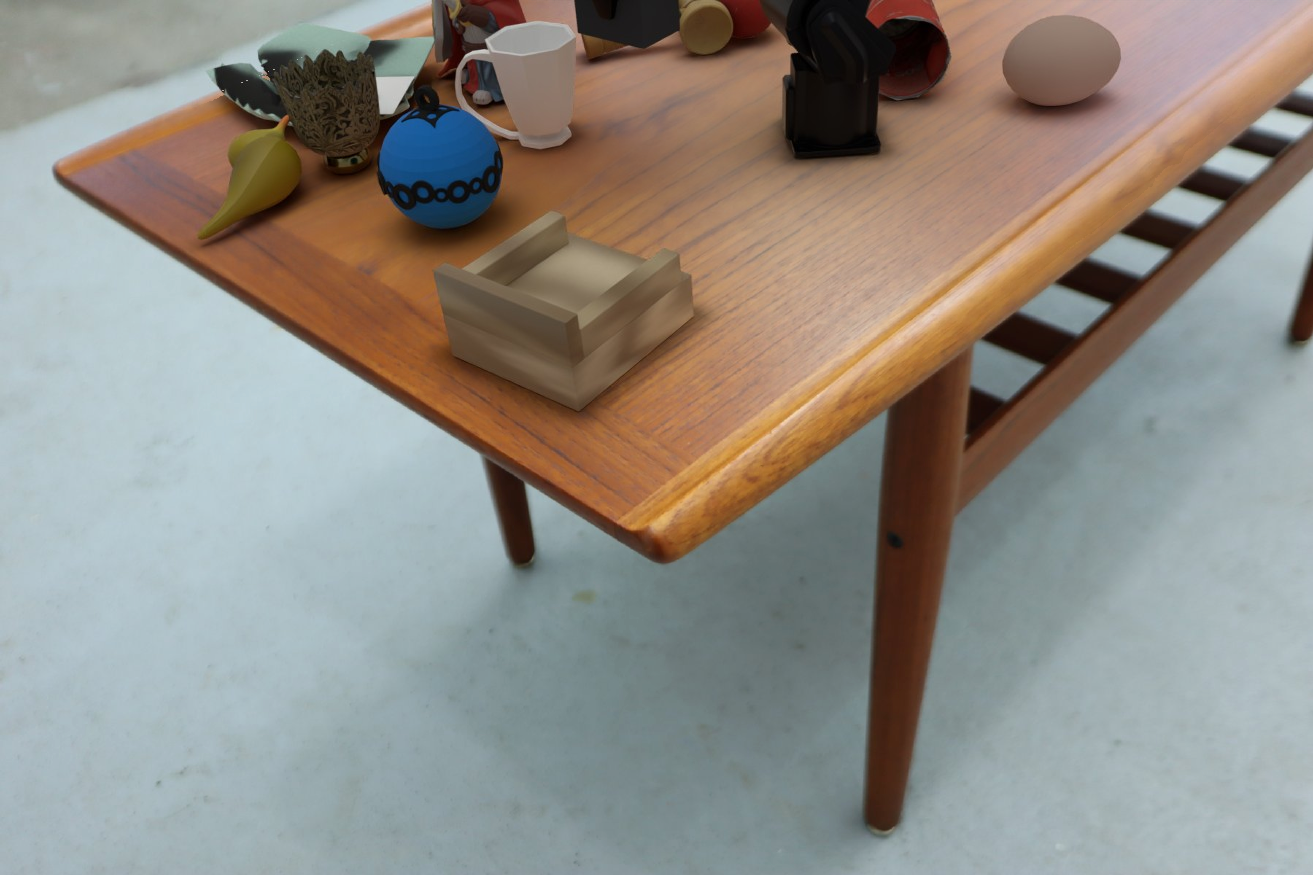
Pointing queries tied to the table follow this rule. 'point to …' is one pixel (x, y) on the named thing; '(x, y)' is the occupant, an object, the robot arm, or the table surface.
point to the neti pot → (256, 176)
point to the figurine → (472, 39)
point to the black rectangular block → (630, 21)
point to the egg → (1060, 60)
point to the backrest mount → (562, 310)
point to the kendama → (703, 26)
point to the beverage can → (911, 46)
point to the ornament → (439, 164)
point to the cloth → (308, 39)
